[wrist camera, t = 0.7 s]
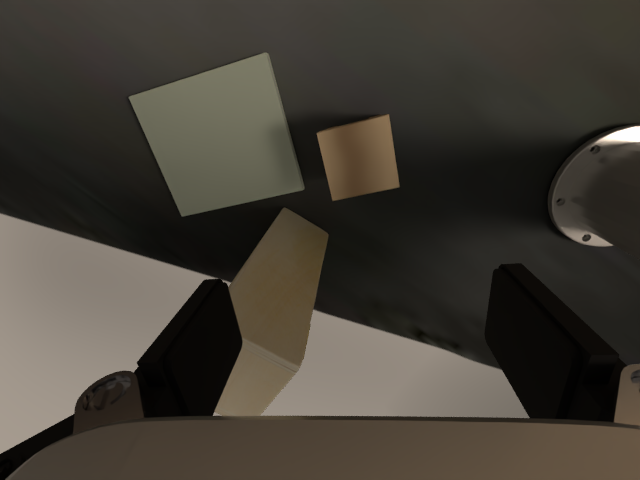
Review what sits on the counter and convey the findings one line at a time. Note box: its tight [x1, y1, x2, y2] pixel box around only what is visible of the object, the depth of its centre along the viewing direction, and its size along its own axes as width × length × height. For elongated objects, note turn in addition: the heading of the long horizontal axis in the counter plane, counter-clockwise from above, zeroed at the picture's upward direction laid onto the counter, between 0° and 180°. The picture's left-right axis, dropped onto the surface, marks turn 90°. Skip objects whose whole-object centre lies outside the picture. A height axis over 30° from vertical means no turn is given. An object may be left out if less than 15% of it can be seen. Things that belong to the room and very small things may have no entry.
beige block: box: [214, 207, 329, 416], centre depth 29 cm, size 8×7×21 cm
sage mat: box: [129, 53, 305, 217], centre depth 34 cm, size 16×14×1 cm
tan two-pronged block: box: [317, 114, 400, 201], centre depth 29 cm, size 6×6×8 cm
